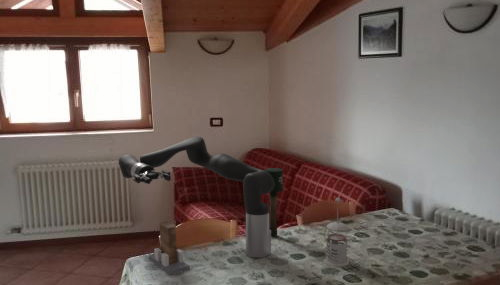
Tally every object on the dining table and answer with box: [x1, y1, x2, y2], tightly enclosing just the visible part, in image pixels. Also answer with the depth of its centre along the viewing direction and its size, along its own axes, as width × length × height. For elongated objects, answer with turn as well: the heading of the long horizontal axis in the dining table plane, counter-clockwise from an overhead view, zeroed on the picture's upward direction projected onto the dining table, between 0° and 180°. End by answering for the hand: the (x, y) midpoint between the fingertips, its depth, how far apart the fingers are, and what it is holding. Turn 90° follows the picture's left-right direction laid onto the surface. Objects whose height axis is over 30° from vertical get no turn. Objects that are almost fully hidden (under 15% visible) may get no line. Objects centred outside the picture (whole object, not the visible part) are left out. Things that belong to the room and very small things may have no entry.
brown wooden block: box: [159, 221, 178, 264], centre depth 171 cm, size 3×7×14 cm, turn 37°
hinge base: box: [148, 247, 191, 276], centre depth 172 cm, size 8×18×6 cm, turn 36°
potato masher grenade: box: [264, 167, 284, 238], centre depth 200 cm, size 8×9×30 cm
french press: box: [323, 197, 350, 267], centre depth 173 cm, size 10×12×25 cm
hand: (159, 179), depth 179 cm, fingers open, 8 cm apart
